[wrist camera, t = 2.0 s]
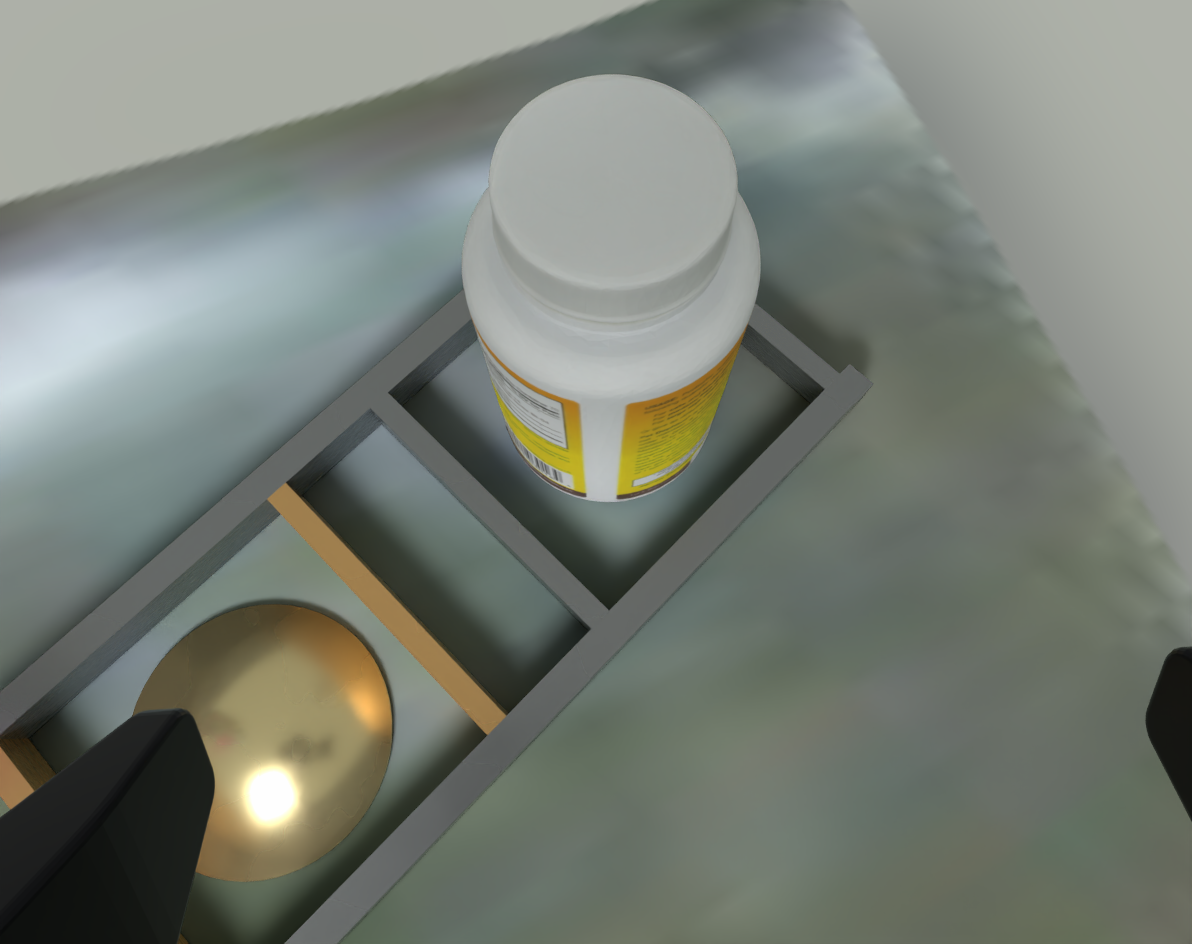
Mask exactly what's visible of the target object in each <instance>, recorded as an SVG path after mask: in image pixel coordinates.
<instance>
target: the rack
mask: <svg viewBox="0 0 1192 944" xmlns="http://www.w3.org/2000/svg"><path fill="white" fill-rule="evenodd" d="M476 339H478V336H477V333H476V330H475V327H474V324H473V321H472V318H471V315H470V312H469V308H468V305H467V301H466V296H465V291H464V289H463V290H462V291H460V292H459V293H458V294H457V295H456V296H455V297H454V298H452V299H451V300H450V301H449V302H448V303H447V304H445V305H444V306H443V307H442V308H441V309H440V310H439V311H437V312H436V313H435V314H434V315H433V316H432V317H431V318H429V319H428V320H427V321H426V322H425V323H424V324H422V325H421V326H420V327H419V328H418V329H417V330H416V331H414V332H413V333H412V334H411V335H410V336H409V337H408V338H406V339H405V340H404V341H403V342H402V343H401V344H399V345H398V346H397V347H396V348H395V349H394V350H393V351H391V352H390V353H389V354H388V355H387V356H386V357H385V358H383V359H382V360H381V361H380V362H379V363H378V364H376V365H375V366H374V367H373V368H372V369H371V370H370V371H368V372H367V373H366V374H365V375H364V376H363V377H362V378H360V379H359V380H358V381H357V382H356V383H355V384H353V385H352V386H351V387H350V388H349V389H348V390H347V391H345V392H344V393H343V394H342V395H341V396H340V397H339V398H337V399H336V400H335V401H334V402H333V403H332V404H331V405H329V406H328V407H327V408H326V409H325V410H324V411H322V412H321V413H320V414H319V415H318V416H317V417H316V418H314V419H313V420H312V421H311V422H310V423H309V424H308V425H306V426H305V427H304V428H303V429H302V430H301V431H299V432H298V433H297V434H296V435H295V436H294V437H293V438H291V439H290V440H289V441H288V442H287V443H286V444H285V445H283V446H282V447H281V448H280V449H279V450H278V451H276V452H275V453H274V454H273V455H272V456H271V457H270V458H268V459H267V460H266V461H265V462H264V463H263V464H262V465H260V466H259V467H258V468H257V469H256V470H255V471H253V472H252V473H251V474H250V475H249V476H248V477H247V478H245V479H244V480H243V481H242V482H241V483H240V484H239V485H237V486H236V487H235V488H234V489H233V490H232V491H230V492H229V493H228V494H227V495H226V496H225V497H224V498H222V499H221V500H220V501H219V502H218V503H217V504H216V505H214V506H213V507H212V508H211V509H210V510H209V511H208V512H206V513H205V514H204V515H203V516H202V517H201V518H199V519H198V520H197V521H196V522H195V523H194V524H193V525H191V526H190V527H189V528H188V529H187V530H186V531H185V532H183V533H182V534H181V535H180V536H179V537H178V538H176V539H175V540H174V541H173V542H172V543H171V544H170V545H168V546H167V547H166V548H165V549H164V550H163V551H162V552H160V553H159V554H158V555H157V556H156V557H155V558H153V559H152V560H151V561H150V562H149V563H148V564H147V565H145V566H144V567H143V568H142V569H141V570H140V571H139V572H137V573H136V574H135V575H134V576H133V577H132V578H130V579H129V580H128V581H127V582H126V583H125V584H124V585H122V586H121V587H120V588H119V589H118V590H117V591H116V592H114V593H113V594H112V595H111V596H110V597H109V598H107V599H106V600H105V601H104V602H103V603H102V604H101V605H99V606H98V607H97V608H96V609H95V610H94V611H93V612H91V613H90V614H89V615H88V616H87V617H86V618H84V619H83V620H82V621H81V622H80V623H79V624H78V625H76V626H75V627H74V628H73V629H72V630H71V631H70V632H68V633H67V634H66V635H65V636H64V637H63V638H62V639H60V640H59V641H58V642H57V643H56V644H55V645H53V646H52V647H51V648H50V649H49V650H48V651H47V652H45V653H44V654H43V655H42V656H41V657H40V658H39V659H37V660H36V661H35V662H34V663H33V664H32V665H30V666H29V667H28V668H27V669H26V670H25V671H24V672H22V673H21V674H20V675H19V676H18V677H17V678H16V679H14V680H13V681H12V682H11V683H10V684H9V685H7V686H6V687H5V688H4V689H3V690H2V691H1V692H0V796H1V798H2V799H3V800H4V802H5V803H6V804H7V806H8V807H9V808H10V810H11V809H12V808H13V807H15V806H16V805H17V804H18V803H20V802H21V801H22V800H24V799H25V798H26V797H28V796H29V795H30V794H32V793H33V792H34V791H35V790H37V789H38V788H39V787H41V786H42V785H43V784H45V783H46V782H47V781H48V780H50V779H51V778H52V777H54V776H55V775H56V773H55V772H54V771H53V769H52V768H51V767H50V766H49V764H48V763H47V762H46V760H45V759H44V758H43V757H42V755H41V754H40V753H39V751H38V750H37V749H36V748H35V746H34V745H33V744H32V743H31V741H30V740H29V739H28V738H29V737H31V736H32V735H33V734H34V733H35V732H36V731H37V730H38V729H40V728H41V727H42V726H43V725H44V724H45V723H46V722H47V721H49V720H50V719H51V718H52V717H53V716H54V715H55V714H56V713H58V712H59V711H60V710H61V709H62V708H63V707H64V706H65V705H67V704H68V703H69V702H70V701H71V700H72V699H73V698H74V697H75V696H77V695H78V694H79V693H80V692H81V691H82V690H83V689H84V688H86V687H87V686H88V685H89V684H90V683H91V682H92V681H93V680H95V679H96V678H97V677H98V676H99V675H100V674H101V673H102V672H104V671H105V670H106V669H107V668H108V667H109V666H110V665H111V664H113V663H114V662H115V661H116V660H117V659H118V658H119V657H120V656H122V655H123V654H124V653H125V652H126V651H127V650H128V649H129V648H131V647H132V646H133V645H134V644H135V643H136V642H137V641H138V640H139V639H141V638H142V637H143V636H144V635H145V634H146V633H147V632H148V631H150V630H151V629H152V628H153V627H154V626H155V625H156V624H157V623H159V622H160V621H161V620H162V619H163V618H164V617H165V616H166V615H168V614H169V613H170V612H171V611H172V610H173V609H174V608H175V607H177V606H178V605H179V604H180V603H181V602H182V601H183V600H184V599H186V598H187V597H188V596H189V595H190V594H191V593H192V592H193V591H195V590H196V589H197V588H198V587H199V586H200V585H201V584H202V583H204V582H205V581H206V580H207V579H208V578H209V577H210V576H211V575H212V574H214V573H215V572H216V571H217V570H218V569H219V568H220V567H221V566H223V565H224V564H225V563H226V562H227V561H228V560H229V559H230V558H232V557H233V556H234V555H235V554H236V553H237V552H238V551H239V550H241V549H242V548H243V547H244V546H245V545H246V544H247V543H248V542H250V541H251V540H252V539H253V538H254V537H255V536H256V535H257V534H259V533H260V532H261V531H262V530H263V529H264V528H265V527H266V526H268V525H269V524H270V523H271V522H272V521H273V520H274V519H275V518H277V517H278V516H279V515H280V514H281V515H282V516H283V517H284V518H285V519H286V520H287V521H288V522H289V523H290V524H291V526H292V527H293V528H294V529H295V530H296V531H297V532H298V533H299V534H300V535H301V536H302V537H303V538H304V539H305V541H306V542H307V543H308V544H309V545H310V546H311V547H312V548H313V549H314V550H315V551H316V552H317V553H318V554H319V556H320V557H321V558H322V559H323V560H324V561H325V562H326V563H327V564H328V565H329V566H330V567H331V568H332V569H333V571H334V572H335V573H336V574H337V575H338V576H339V577H340V578H341V579H342V580H343V581H344V582H345V583H346V584H347V585H348V587H349V588H350V589H351V590H352V591H353V592H354V593H355V594H356V595H357V596H358V597H359V598H360V599H361V600H362V602H363V603H364V604H365V605H366V606H367V607H368V608H369V609H370V610H371V611H372V612H373V613H374V614H375V615H376V617H377V618H378V619H379V620H380V621H381V622H382V623H383V624H384V625H385V626H386V627H387V628H388V629H389V630H390V632H391V633H392V634H393V635H394V636H395V637H396V638H397V639H398V640H399V641H400V642H401V643H402V644H403V645H404V647H405V648H406V649H407V650H408V651H409V652H410V653H411V654H412V655H413V656H414V657H415V658H416V659H417V660H418V662H419V663H420V664H421V665H422V666H423V667H424V668H425V669H426V670H427V671H428V672H429V673H430V674H431V675H432V677H433V678H434V679H435V680H436V681H437V682H438V683H439V684H440V685H441V686H442V687H443V688H444V689H445V690H446V692H447V693H448V694H449V695H450V696H451V697H452V698H453V699H454V700H455V701H456V702H457V703H458V704H459V705H460V707H461V708H462V709H463V710H464V711H465V712H466V713H467V714H468V715H469V716H470V717H471V718H472V719H473V720H474V722H475V723H476V724H477V725H478V726H479V727H480V728H481V729H482V730H483V731H484V732H485V733H486V734H487V736H486V737H485V738H484V739H483V740H482V741H481V743H480V744H479V745H478V746H477V747H476V748H475V749H474V750H473V751H472V752H471V753H470V754H469V755H468V756H467V757H466V758H465V759H464V760H463V761H462V762H461V763H460V764H459V765H458V766H457V767H456V768H455V769H454V770H453V771H452V772H451V773H450V774H449V775H448V776H447V777H446V778H445V779H444V780H443V781H442V783H441V784H440V785H439V786H438V787H437V788H436V789H435V790H434V791H433V792H432V793H431V794H430V795H429V796H428V797H427V798H426V799H425V800H424V801H423V802H422V803H421V804H420V805H419V806H418V807H417V808H416V809H415V810H414V811H413V812H412V813H411V814H410V815H409V816H408V817H407V818H406V819H405V820H404V821H403V822H402V824H401V825H400V826H399V827H398V828H397V829H396V830H395V831H394V832H393V833H392V834H391V835H390V836H389V837H388V838H387V839H386V840H385V841H384V842H383V843H382V844H381V845H380V846H379V847H378V848H377V849H376V850H375V851H374V852H373V853H372V854H371V855H370V856H369V857H368V858H367V859H366V860H365V861H364V862H363V864H362V865H361V866H360V867H359V868H358V869H357V870H356V871H355V872H354V873H353V874H352V875H351V876H350V877H349V878H348V879H347V880H346V881H345V882H344V883H343V884H342V885H341V886H340V887H339V888H338V889H337V890H336V891H335V892H334V893H333V894H332V895H331V896H330V897H329V898H328V899H327V900H326V901H325V902H324V904H323V905H322V906H321V907H320V908H319V909H318V910H317V911H316V912H315V913H314V914H313V915H312V916H311V917H310V918H309V919H308V920H307V921H306V922H305V923H304V924H303V925H302V926H301V927H300V928H299V929H298V930H297V931H296V932H295V933H294V934H293V935H292V936H291V937H290V938H289V939H288V940H287V941H286V942H285V944H340V943H341V942H342V941H343V940H344V938H345V937H346V936H347V935H348V934H349V933H350V932H351V931H352V930H353V929H354V928H355V927H356V926H357V925H358V924H359V923H360V922H361V921H362V920H363V919H364V918H365V917H366V916H367V914H368V913H369V912H370V911H371V910H372V909H373V908H374V907H375V906H376V905H377V904H378V903H379V902H380V901H381V900H382V899H383V898H384V897H385V896H386V895H387V894H388V893H389V892H390V890H391V889H392V888H393V887H394V886H395V885H396V884H397V883H398V882H399V881H400V880H401V879H402V878H403V877H404V876H405V875H406V874H407V873H408V872H409V871H410V870H411V869H412V868H413V866H414V865H415V864H416V863H417V862H418V861H419V860H420V859H421V858H422V857H423V856H424V855H425V854H426V853H427V852H428V851H429V850H430V849H431V848H432V847H433V846H434V845H435V844H436V842H437V841H438V840H439V839H440V838H441V837H442V836H443V835H444V834H445V833H446V832H447V831H448V830H449V829H450V828H451V827H452V826H453V825H454V824H455V823H456V822H457V821H458V820H459V818H460V817H461V816H462V815H463V814H464V813H465V812H466V811H467V810H468V809H469V808H470V807H471V806H472V805H473V804H474V803H475V802H476V801H477V800H478V799H479V798H480V797H481V796H482V794H483V793H484V792H485V791H486V790H487V789H488V788H489V787H490V786H491V785H492V784H493V783H494V782H495V781H496V780H497V779H498V778H499V777H500V776H501V775H502V774H503V773H504V772H505V770H506V769H507V768H508V767H509V766H510V765H511V764H512V763H513V762H514V761H515V760H516V759H517V758H518V757H519V756H520V755H521V754H522V753H523V752H524V751H525V750H526V749H527V748H528V746H529V745H530V744H531V743H532V742H533V741H534V740H535V739H536V738H537V737H538V736H539V735H540V734H541V733H542V732H543V731H544V730H545V729H546V728H547V727H548V726H549V725H550V724H551V722H552V721H553V720H554V719H555V718H556V717H557V716H558V715H559V714H560V713H561V712H562V711H563V710H564V709H565V708H566V707H567V706H568V705H569V704H570V703H571V702H572V701H573V699H574V698H575V697H576V696H577V695H578V694H579V693H580V692H581V691H582V690H583V689H584V688H585V687H586V686H587V685H588V684H589V683H590V682H591V681H592V680H593V679H594V678H595V677H596V675H597V674H598V673H599V672H600V671H601V670H602V669H603V668H604V667H605V666H606V665H607V664H608V663H609V662H610V661H611V660H612V659H613V658H614V657H615V656H616V655H617V654H618V653H619V651H620V650H621V649H622V648H623V647H624V646H625V645H626V644H627V643H628V642H629V641H630V640H631V639H632V638H633V637H634V636H635V635H636V634H637V633H638V632H639V631H640V630H641V629H642V627H643V626H644V625H645V624H646V623H647V622H648V621H649V620H650V619H651V618H652V617H653V616H654V615H655V614H656V613H657V612H658V611H659V610H660V609H661V608H662V607H663V606H664V605H665V603H666V602H667V601H668V600H669V599H670V598H671V597H672V596H673V595H674V594H675V593H676V592H677V591H678V590H679V589H680V588H681V587H682V586H683V585H684V584H685V583H686V582H687V581H688V579H689V578H690V577H691V576H692V575H693V574H694V573H695V572H696V571H697V570H698V569H699V568H700V567H701V566H702V565H703V564H704V563H705V562H706V561H707V560H708V559H709V558H710V557H711V555H712V554H713V553H714V552H715V551H716V550H717V549H718V548H719V547H720V546H721V545H722V544H723V543H724V542H725V541H726V540H727V539H728V538H729V537H730V536H731V535H732V534H733V533H734V531H735V530H736V529H737V528H738V527H739V526H740V525H741V524H742V523H743V522H744V521H745V520H746V519H747V518H748V517H749V516H750V515H751V514H752V513H753V512H754V511H755V510H756V509H757V507H758V506H759V505H760V504H761V503H762V502H763V501H764V500H765V499H766V498H767V497H768V496H769V495H770V494H771V493H772V492H773V491H774V490H775V489H776V488H777V487H778V486H779V485H780V483H781V482H782V481H783V480H784V479H785V478H786V477H787V476H788V475H789V474H790V473H791V472H792V471H793V470H794V469H795V468H796V467H797V466H798V465H799V464H800V463H801V462H802V461H803V459H804V458H805V457H806V456H807V455H808V454H809V453H810V452H811V451H812V450H813V449H814V448H815V447H816V446H817V445H818V444H819V443H820V442H821V441H822V440H823V439H824V438H825V437H826V435H827V434H828V433H829V432H830V431H831V430H832V429H833V428H834V427H835V426H836V425H837V424H838V423H839V422H840V421H841V420H842V419H843V418H844V417H845V416H846V415H847V414H848V413H849V411H850V410H851V409H852V408H853V407H854V406H855V405H856V404H857V403H858V402H859V401H860V400H861V399H862V397H863V396H864V395H865V394H866V392H867V391H868V390H869V389H870V388H871V386H872V385H873V383H872V382H871V381H870V380H869V379H867V378H866V377H865V376H864V375H863V374H861V373H860V372H859V371H858V370H857V369H855V368H854V367H853V366H852V365H851V364H849V365H848V366H847V367H846V368H845V369H844V370H843V371H842V372H841V373H840V374H839V373H838V372H837V371H836V370H835V369H833V368H832V367H831V366H830V365H829V364H828V363H826V362H825V361H824V360H823V359H822V358H820V357H819V356H818V355H817V354H816V353H814V352H813V351H812V350H811V349H810V348H809V347H807V346H806V345H805V344H804V343H803V342H801V341H800V340H799V339H798V338H797V337H795V336H794V335H793V334H792V333H791V332H789V331H788V330H787V329H786V328H785V327H784V326H782V325H781V324H780V323H779V322H778V321H776V320H775V319H774V318H773V317H772V316H770V315H769V314H768V313H767V312H766V311H764V310H763V309H762V308H761V307H760V306H759V305H757V304H756V303H755V305H754V308H753V311H752V314H751V317H750V319H749V322H748V325H747V328H746V331H745V333H744V336H743V339H742V342H741V344H742V345H743V346H744V347H745V348H747V349H748V350H749V351H750V352H751V353H752V354H754V355H755V356H756V357H757V358H758V359H759V360H761V361H762V362H763V363H764V364H765V365H766V366H768V367H769V368H770V369H771V370H772V371H773V372H775V373H776V374H777V375H778V376H779V377H780V378H782V379H783V380H784V381H785V382H786V383H787V384H789V385H790V386H791V387H792V388H793V389H794V390H796V391H797V392H798V393H799V394H800V395H801V396H803V397H804V398H805V399H806V400H807V401H808V402H810V403H811V404H810V405H809V406H808V407H807V408H806V409H805V410H804V411H803V412H802V413H801V414H800V415H799V416H798V417H797V418H796V419H795V420H794V421H793V423H792V424H791V425H790V426H789V427H788V428H787V429H786V430H785V431H784V432H783V433H782V434H781V435H780V436H779V437H778V438H777V439H776V440H775V441H774V442H773V443H772V444H771V445H770V446H769V447H768V448H767V449H766V450H765V451H764V452H763V453H762V454H761V455H760V456H759V457H758V458H757V459H756V460H755V461H754V463H753V464H752V465H751V466H750V467H749V468H748V469H747V470H746V471H745V472H744V473H743V474H742V475H741V476H740V477H739V478H738V479H737V480H736V481H735V482H734V483H733V484H732V485H731V486H730V487H729V488H728V489H727V490H726V491H725V492H724V493H723V494H722V495H721V496H720V497H719V498H718V499H717V500H716V501H715V503H714V504H713V505H712V506H711V507H710V508H709V509H708V510H707V511H706V512H705V513H704V514H703V515H702V516H701V517H700V518H699V519H698V520H697V521H696V522H695V523H694V524H693V525H692V526H691V527H690V528H689V529H688V530H687V531H686V532H685V533H684V534H683V535H682V536H681V537H680V538H679V539H678V540H677V541H676V543H675V544H674V545H673V546H672V547H671V548H670V549H669V550H668V551H667V552H666V553H665V554H664V555H663V556H662V557H661V558H660V559H659V560H658V561H657V562H656V563H655V564H654V565H653V566H652V567H651V568H650V569H649V570H648V571H647V572H646V573H645V574H644V575H643V576H642V577H641V578H640V579H639V580H638V581H637V583H636V584H635V585H634V586H633V587H632V588H631V589H630V590H629V591H628V592H627V593H626V594H625V595H624V596H623V597H622V598H621V599H620V600H619V601H618V602H617V603H616V604H615V605H614V606H613V607H612V608H611V609H610V610H608V609H607V608H606V607H605V606H604V605H603V604H602V603H601V602H600V601H599V600H598V599H597V598H596V597H595V596H594V595H593V594H592V593H591V592H590V591H589V590H588V589H587V588H586V587H585V586H584V585H583V584H582V583H581V582H580V581H579V580H577V579H576V578H575V577H574V576H573V575H572V574H571V573H570V572H569V571H568V570H567V569H566V568H565V567H564V566H563V565H562V564H561V563H560V562H559V561H558V560H557V559H556V558H555V557H554V556H553V555H552V554H551V553H550V552H549V551H548V550H547V549H546V548H545V547H544V546H543V545H542V544H541V543H540V542H539V541H538V540H537V539H536V538H535V537H534V536H533V535H532V534H531V533H530V532H529V531H528V530H527V529H526V528H525V527H524V526H523V525H522V524H521V523H520V522H519V521H518V520H517V519H516V518H515V517H514V516H513V515H512V514H511V513H509V512H508V511H507V510H506V509H505V508H504V507H503V506H502V505H501V504H500V503H499V502H498V501H497V500H496V499H495V498H494V497H493V496H492V495H491V494H490V493H489V492H488V491H487V490H486V489H485V488H484V487H483V486H482V485H481V484H480V483H479V482H478V481H477V480H476V479H475V478H474V477H473V476H472V475H471V474H470V473H469V472H468V471H467V470H466V469H465V468H464V467H463V466H462V465H461V464H460V463H459V462H458V461H457V460H456V459H455V458H454V457H453V456H452V455H451V454H450V453H449V452H448V451H447V450H446V449H445V448H444V447H443V446H442V445H440V444H439V443H438V442H437V441H436V440H435V439H434V438H433V437H432V436H431V435H430V434H429V433H428V432H427V431H426V430H425V429H424V428H423V427H422V426H421V425H420V424H419V423H418V422H417V421H416V420H415V419H414V418H413V417H412V416H411V415H410V414H409V413H408V412H407V411H406V410H405V409H404V408H403V407H402V405H403V404H405V403H406V402H407V401H408V400H409V399H410V398H411V397H412V396H414V395H415V394H416V393H417V392H418V391H419V390H420V389H421V388H422V387H424V386H425V385H426V384H427V383H428V382H429V381H430V380H431V379H433V378H434V377H435V376H436V375H437V374H438V373H439V372H440V371H442V370H443V369H444V368H445V367H446V366H447V365H448V364H449V363H451V362H452V361H453V360H454V359H455V358H456V357H457V356H458V355H460V354H461V353H462V352H463V351H464V350H465V349H466V348H467V347H469V346H470V345H471V344H472V343H473V342H474V341H475V340H476ZM381 424H382V425H383V426H384V427H385V428H386V429H387V430H388V431H389V432H390V433H391V434H392V435H393V436H394V437H395V438H396V439H397V440H398V441H399V442H400V443H401V444H402V445H403V446H404V447H405V448H406V449H407V450H408V451H409V452H410V453H411V454H412V455H413V456H414V457H415V458H416V459H417V460H418V461H419V462H420V463H421V464H422V465H423V466H424V467H425V468H426V469H427V470H428V471H429V472H430V473H431V474H432V475H433V476H434V477H435V478H436V479H437V480H438V481H439V482H440V483H441V484H442V485H443V486H444V487H445V488H446V489H447V490H448V491H449V492H450V493H451V494H452V495H453V496H454V497H455V498H456V499H457V500H458V501H459V502H460V503H461V504H462V505H463V506H464V507H465V508H466V509H467V510H468V511H469V512H470V513H471V514H472V515H473V516H474V517H475V518H476V519H477V520H478V521H479V522H480V523H481V524H482V525H483V526H484V527H485V528H486V529H487V530H488V531H489V532H490V533H491V534H492V535H493V536H494V537H495V538H496V539H497V540H498V541H499V542H500V543H501V544H502V545H503V546H504V547H505V548H506V549H507V550H508V551H509V552H510V553H511V554H512V555H513V556H514V557H515V558H516V559H517V560H518V561H519V562H520V563H521V564H522V565H523V566H524V567H525V568H526V569H527V570H528V571H529V572H530V573H531V574H532V575H533V576H534V577H535V578H536V579H537V580H538V581H539V582H540V583H541V584H542V585H543V586H544V587H545V588H546V589H547V590H548V591H549V592H550V593H551V594H552V595H553V596H554V597H555V598H556V599H557V600H558V601H559V602H560V603H561V604H562V605H563V606H564V607H565V608H566V609H567V610H568V611H569V612H570V613H571V614H572V615H573V616H574V617H575V618H576V619H577V620H578V621H579V622H580V623H581V624H582V625H583V626H584V627H585V628H586V629H587V630H588V631H589V632H588V633H587V634H586V635H585V636H584V637H583V638H582V639H581V640H580V641H579V642H578V643H577V644H576V645H575V646H574V647H573V648H572V649H571V650H570V651H569V652H568V653H567V654H566V655H565V656H564V657H563V658H562V659H561V660H560V661H559V663H558V664H557V665H556V666H555V667H554V668H553V669H552V670H551V671H550V672H549V673H548V674H547V675H546V676H545V677H544V678H543V679H542V680H541V681H540V682H539V683H538V684H537V685H536V686H535V687H534V688H533V689H532V690H531V691H530V692H529V693H528V694H527V695H526V696H525V697H524V698H523V699H522V700H521V701H520V703H519V704H518V705H517V706H516V707H515V708H514V709H513V710H512V711H511V712H510V713H508V712H507V711H506V710H505V709H504V708H503V707H502V706H501V705H500V704H499V703H498V702H497V701H496V700H495V699H494V698H493V697H492V695H491V694H490V693H489V692H488V691H487V690H486V689H485V688H484V687H483V686H482V685H481V684H480V683H479V682H478V681H477V680H476V679H475V678H474V676H473V675H472V674H471V673H470V672H469V671H468V670H467V669H466V668H465V667H464V666H463V665H462V664H461V663H460V662H459V661H458V660H457V659H456V657H455V656H454V655H453V654H452V653H451V652H450V651H449V650H448V649H447V648H446V647H445V646H444V645H443V644H442V643H441V642H440V641H439V640H438V638H437V637H436V636H435V635H434V634H433V633H432V632H431V631H430V630H429V629H428V628H427V627H426V626H425V625H424V624H423V623H422V622H421V620H420V619H419V618H418V617H417V616H416V615H415V614H414V613H413V612H412V611H411V610H410V609H409V608H408V607H407V606H406V605H405V604H404V603H403V601H402V600H401V599H400V598H399V597H398V596H397V595H396V594H395V593H394V592H393V591H392V590H391V589H390V588H389V587H388V586H387V585H386V584H385V582H384V581H383V580H382V579H381V578H380V577H379V576H378V575H377V574H376V573H375V572H374V571H373V570H372V569H371V568H370V567H369V566H368V565H367V563H366V562H365V561H364V560H363V559H362V558H361V557H360V556H359V555H358V554H357V553H356V552H355V551H354V550H353V549H352V548H351V547H350V546H349V544H348V543H347V542H346V541H345V540H344V539H343V538H342V537H341V536H340V535H339V534H338V533H337V532H336V531H335V530H334V529H333V528H332V527H331V525H330V524H329V523H328V522H327V521H326V520H325V519H324V518H323V517H322V516H321V515H320V514H319V513H318V512H317V511H316V510H315V509H314V508H313V506H312V505H311V504H310V503H309V502H308V501H307V500H306V499H305V498H304V497H303V496H302V494H303V493H305V492H306V491H307V490H308V489H309V488H310V487H311V486H312V485H314V484H315V483H316V482H317V481H318V480H319V479H320V478H321V477H323V476H324V475H325V474H326V473H327V472H328V471H329V470H330V469H332V468H333V467H334V466H335V465H336V464H337V463H338V462H339V461H341V460H342V459H343V458H344V457H345V456H346V455H347V454H348V453H350V452H351V451H352V450H353V449H354V448H355V447H356V446H357V445H358V444H360V443H361V442H362V441H363V440H364V439H365V438H366V437H367V436H369V435H370V434H371V433H372V432H373V431H374V430H375V429H376V428H378V427H379V426H380V425H381ZM174 708H181V709H186V710H188V711H189V712H190V713H191V714H192V715H193V717H194V719H195V721H196V724H197V726H198V729H199V732H200V734H201V737H202V740H203V743H204V745H205V748H206V751H207V754H208V756H209V759H210V762H211V765H212V767H213V771H214V776H215V792H214V798H213V803H212V807H211V811H210V815H209V819H208V823H207V827H206V831H205V835H204V839H203V843H202V847H201V851H200V855H199V859H198V863H197V867H196V871H195V872H198V873H200V874H203V875H206V876H208V877H212V878H217V879H221V880H226V881H240V882H248V881H260V880H266V879H271V878H276V877H280V876H283V875H286V874H289V873H291V872H294V871H297V870H299V869H301V868H303V867H305V866H307V865H309V864H311V863H313V862H315V861H316V860H318V859H319V858H321V857H322V856H324V855H325V854H327V853H328V852H329V851H331V850H332V849H334V848H335V847H336V846H337V845H338V844H339V843H340V842H341V841H342V840H344V839H345V838H346V837H347V836H348V835H349V834H350V832H351V831H352V830H353V829H354V828H355V827H356V826H357V824H358V823H359V822H360V821H361V819H362V818H363V816H364V815H365V813H366V812H367V810H368V809H369V808H370V806H371V804H372V802H373V800H374V798H375V796H376V795H377V793H378V791H379V789H380V786H381V783H382V781H383V778H384V775H385V773H386V769H387V765H388V761H389V757H390V753H391V745H392V736H393V717H392V710H391V702H390V698H389V694H388V690H387V686H386V683H385V681H384V678H383V676H382V673H381V671H380V669H379V667H378V665H377V663H376V662H375V660H374V658H373V657H372V655H371V654H370V652H369V651H368V650H367V649H366V647H365V646H364V645H363V643H362V642H361V641H360V640H359V639H358V638H357V637H356V636H355V635H354V634H352V633H351V632H350V631H349V630H348V629H346V628H345V627H344V626H342V625H341V624H339V623H338V622H337V621H335V620H333V619H331V618H329V617H327V616H325V615H323V614H321V613H318V612H315V611H312V610H309V609H306V608H302V607H297V606H292V605H279V604H268V605H256V606H251V607H246V608H241V609H237V610H234V611H231V612H228V613H226V614H223V615H221V616H219V617H217V618H214V619H212V620H210V621H208V622H206V623H205V624H203V625H202V626H200V627H198V628H197V629H195V630H194V631H192V632H191V633H190V634H188V635H187V636H186V637H185V638H183V639H182V640H181V641H180V642H179V643H178V644H177V645H176V646H175V647H174V648H173V649H172V650H171V651H170V652H169V653H168V654H167V655H166V656H165V657H164V658H163V660H162V661H161V662H160V663H159V665H158V666H157V667H156V668H155V670H154V671H153V673H152V675H151V676H150V678H149V679H148V681H147V683H146V684H145V686H144V688H143V690H142V692H141V694H140V697H139V699H138V701H137V703H136V706H135V709H134V712H133V715H132V716H134V715H135V714H137V713H139V712H142V711H146V710H158V709H174ZM177 944H189V943H188V942H187V941H186V939H185V938H184V937H183V935H182V934H181V933H180V936H179V940H178V943H177Z"/></svg>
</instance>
